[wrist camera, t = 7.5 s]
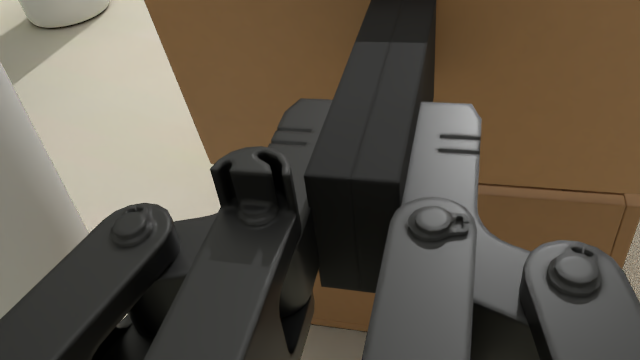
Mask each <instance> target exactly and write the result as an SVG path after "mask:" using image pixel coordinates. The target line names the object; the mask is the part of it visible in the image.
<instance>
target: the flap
mask: <svg viewBox="0 0 640 360" xmlns="http://www.w3.org/2000/svg"><path fill="white" fill-rule="evenodd" d="M144 1H145V4H146V6H147V8H148V11H149V13H150V16H151V18H152V21H153V23H154V26H155V28H156V31H157V33H158V35H159V38H160V40H161V43H162V45H163V48H164V50H165V53H166V55H167V57H168V60H169V62H170V65H171V67H172V70H173V72H174V75H175V77H176V80H177V82H178V84H179V87H180V89H181V92H182V94H183V97H184V99H185V102H186V104H187V106H188V109H189V111H190V114H191V116H192V119H193V121H194V124H195V126H196V129H197V131H198V133H199V136H200V138H201V141H202V143H203V146H204V148H205V151H206V153H207V156H208V158H209V160H210V163H211V164H215V163H216V162H217V161H218V159H220V158H222V157H223V156H225V155H227V154H228V153H230V152H232V151H235V150H239V149H242V148H245V147H257V146H263V147H268V145H269V143H270V144H271V139H272V137H273V135H274V133H275V131H277V127H278V125H279V122H280V120H281V118H282V116H283V114H284V112H285V111H286V110H287V109H288V108H290V107H291V106H292V105H293V104H294V103H296V102H297V101H298V100H299V99H300V98H306V99H330V100H333V98H334V95H335V93H336V90H337V87H338V85H339V82H340V80H341V77H342V74H343V72H344V69H345V67H346V64H347V61H348V59H349V56H350V54H351V51H352V48H353V46H354V43H355V41H356V38H357V35H358V33H359V30H360V27H361V25H362V22H363V20H364V17H365V14H366V12H367V9H368V7H369V4H370V1H371V0H144ZM433 102H442V103H466V104H472V105H473V107H474V108H475V110H476V111H477V113H478V114H479V116H480V118H481V119H482V123H481V143H480V162H479V182H478V183H486V184H500V185H514V186H528V187H542V188H556V189H570V190H584V191H597V192H611V193H625V194H639V195H640V0H436V35H435V72H434V98H433Z"/></svg>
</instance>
